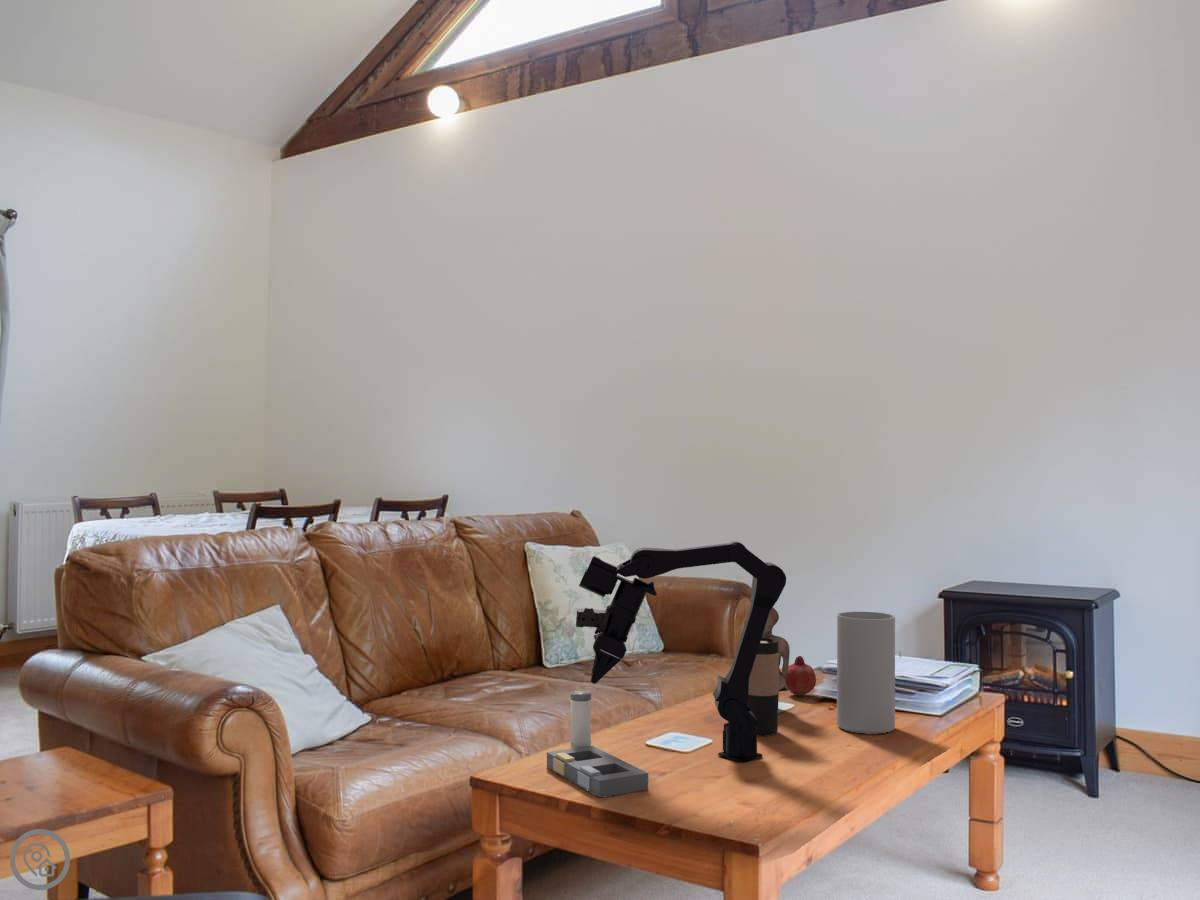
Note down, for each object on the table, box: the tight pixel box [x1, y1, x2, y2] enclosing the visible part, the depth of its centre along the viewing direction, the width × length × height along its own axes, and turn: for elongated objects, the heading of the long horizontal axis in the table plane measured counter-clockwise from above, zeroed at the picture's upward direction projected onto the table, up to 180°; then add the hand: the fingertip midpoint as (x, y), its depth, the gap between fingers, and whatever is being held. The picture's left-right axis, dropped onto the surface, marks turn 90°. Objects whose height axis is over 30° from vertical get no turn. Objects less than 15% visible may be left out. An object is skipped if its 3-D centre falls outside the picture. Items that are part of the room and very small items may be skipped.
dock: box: [546, 745, 649, 798], centre depth 199 cm, size 21×10×4 cm, turn 29°
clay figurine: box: [738, 607, 791, 693], centre depth 255 cm, size 13×10×25 cm
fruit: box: [784, 655, 817, 696], centre depth 270 cm, size 8×8×10 cm
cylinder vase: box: [836, 611, 896, 735], centre depth 238 cm, size 12×12×25 cm
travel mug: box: [747, 638, 780, 736], centre depth 234 cm, size 8×8×20 cm
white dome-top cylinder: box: [570, 690, 592, 749], centre depth 214 cm, size 4×4×12 cm
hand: (593, 678), depth 214 cm, fingers open, 9 cm apart
